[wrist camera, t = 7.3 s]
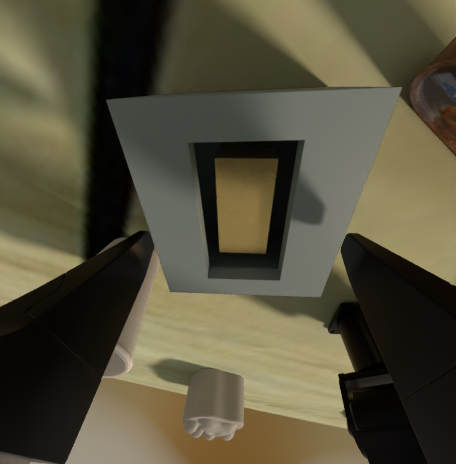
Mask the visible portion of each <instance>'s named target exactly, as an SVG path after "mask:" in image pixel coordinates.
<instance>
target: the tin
mask: <svg viewBox="0 0 456 464" xmlns="http://www.w3.org/2000/svg"><path fill="white" fill-rule="evenodd" d="M409 98H410V102H411V104H412V107H413V108H414V110H415V112H416V113H417V115H418V116H419V117H420V118H421V119H422V120H423V121H424V123H425V124H426V125H427V126H428V127H429V128H430V129H431V130H432V131H433V132H434V133H435V134H436V135H437V136H438V137H439V138H440V139H441V140H442V141H443V142H444V143H445V144H446V146H447V147H448V148H449V149H450V150H451V151H452V152H453V153H454V154H455V155H456V37H455V38H454V39H453V40H452V42H451V43H450V44H449V45H448V46H447V47H446V48H445V49H444V50H443V51H442V52H441V53H440V54H439V55H438V56H437V58H436V59H435V60H434V61H433V62H432V63H431V64H430V65H429V66H428V67H427V68H426V69H424V70H423V71H421V72H420V73H419V74H418V75H417V76H416V77H415V78H414V80H413V81H412V83H411V85H410V90H409Z"/></svg>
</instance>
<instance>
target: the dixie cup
mask: <svg viewBox="0 0 456 464" xmlns="http://www.w3.org/2000/svg"><path fill="white" fill-rule="evenodd" d="M125 239H126V238H118V239H115V240H114V241H112V242H111V243H110V244H109V245H108V246H107V247H105V248H104V249H103V250H102V251H101V252H103V251H105V250H107V249H109V248H110V247H112V246H114V245H116V244H117V243H119V242H121V241H123V240H125ZM101 252H100V253H101ZM100 253H98V254H100ZM98 254H97V255H98ZM159 265H160V260H159V257H158V255H157V253H156V252H155V251H154V250H153V254H152V257H151V260H150V264H149V267H148V270H147V274H146V276H145V279H144V281H143V284H142V286H141V288H140V291H139V293H138V295H137V298H136V300H135V302H134V305H133V307H132V309H131V312H130V314H129V316H128V319H127V321H126V323H125V326H124V328H123V330H122V333H121V335H120V337H119V340H118V342H117V344H116V347H115V349H114V351H113V354H112V356H111V358H110V361H109V363H108V365H107V368H106V370H105V372H104V375H103V377H102V378H111V377H117V376H120V375H123V374H125V373H126V372H128V371H129V370H130V369H131V367H132V365H133V359H132V355H133V352H134V349H135V345H136V342H137V339H138V335H139V332H140V329H141V325H142V322H143V319H144V315H145V312H146V309H147V305H148V302H149V299H150V295H151V292H152V289H153V285H154V282H155V279H156V275H157V272H158V269H159Z"/></svg>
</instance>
